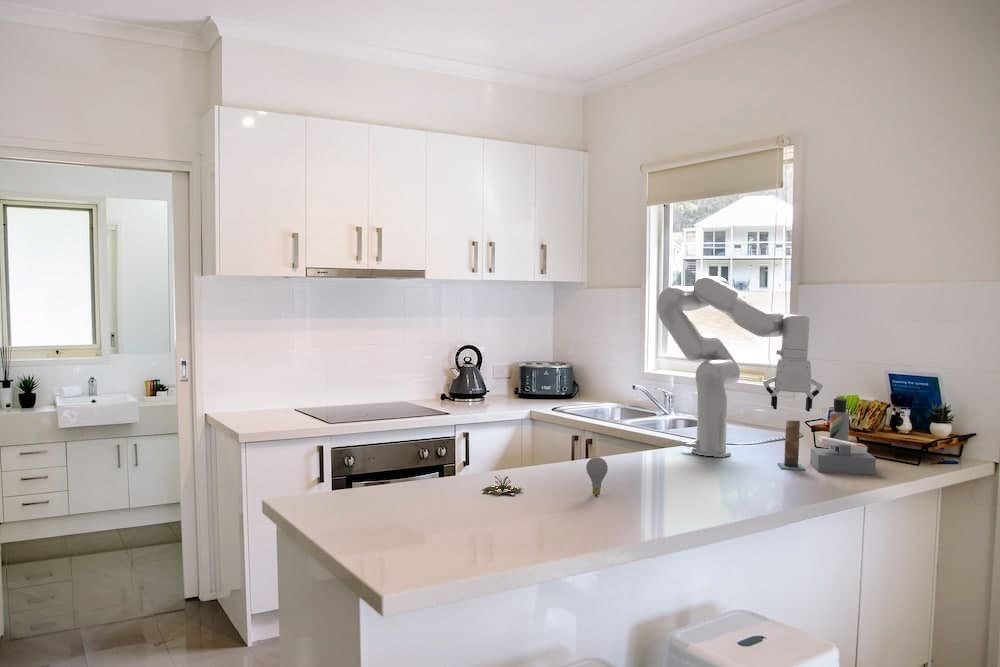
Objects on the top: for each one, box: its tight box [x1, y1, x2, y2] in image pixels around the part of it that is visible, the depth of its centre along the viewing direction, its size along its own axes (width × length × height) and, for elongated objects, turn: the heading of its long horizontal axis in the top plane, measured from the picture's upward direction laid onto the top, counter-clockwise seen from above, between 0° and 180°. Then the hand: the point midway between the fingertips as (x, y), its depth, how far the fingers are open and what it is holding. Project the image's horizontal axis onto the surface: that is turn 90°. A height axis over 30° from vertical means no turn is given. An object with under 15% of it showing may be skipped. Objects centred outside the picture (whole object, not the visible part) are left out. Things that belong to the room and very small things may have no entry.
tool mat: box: [777, 462, 806, 471], centre depth 232 cm, size 7×7×1 cm
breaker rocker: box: [818, 435, 868, 452], centre depth 231 cm, size 13×5×2 cm, turn 78°
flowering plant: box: [481, 474, 521, 497], centre depth 197 cm, size 12×12×5 cm
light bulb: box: [585, 456, 609, 496], centre depth 194 cm, size 5×6×10 cm
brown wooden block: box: [783, 419, 801, 467], centre depth 232 cm, size 4×4×14 cm
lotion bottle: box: [828, 396, 850, 449], centre depth 248 cm, size 6×6×20 cm
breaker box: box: [809, 445, 877, 476], centre depth 231 cm, size 16×12×8 cm
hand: (791, 409), depth 232 cm, fingers open, 9 cm apart
